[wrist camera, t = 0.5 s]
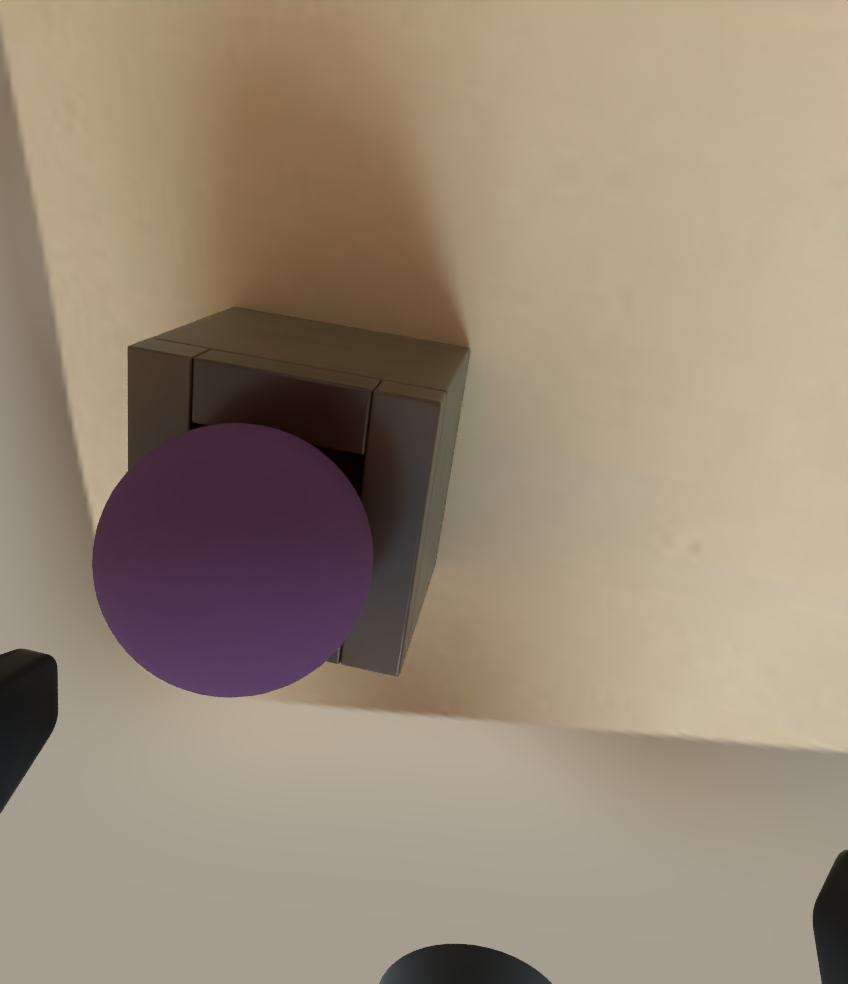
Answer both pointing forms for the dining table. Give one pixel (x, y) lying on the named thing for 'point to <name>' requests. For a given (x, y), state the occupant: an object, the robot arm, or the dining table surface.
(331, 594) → the ball
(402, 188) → the dining table surface
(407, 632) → the stand
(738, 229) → the dining table surface
